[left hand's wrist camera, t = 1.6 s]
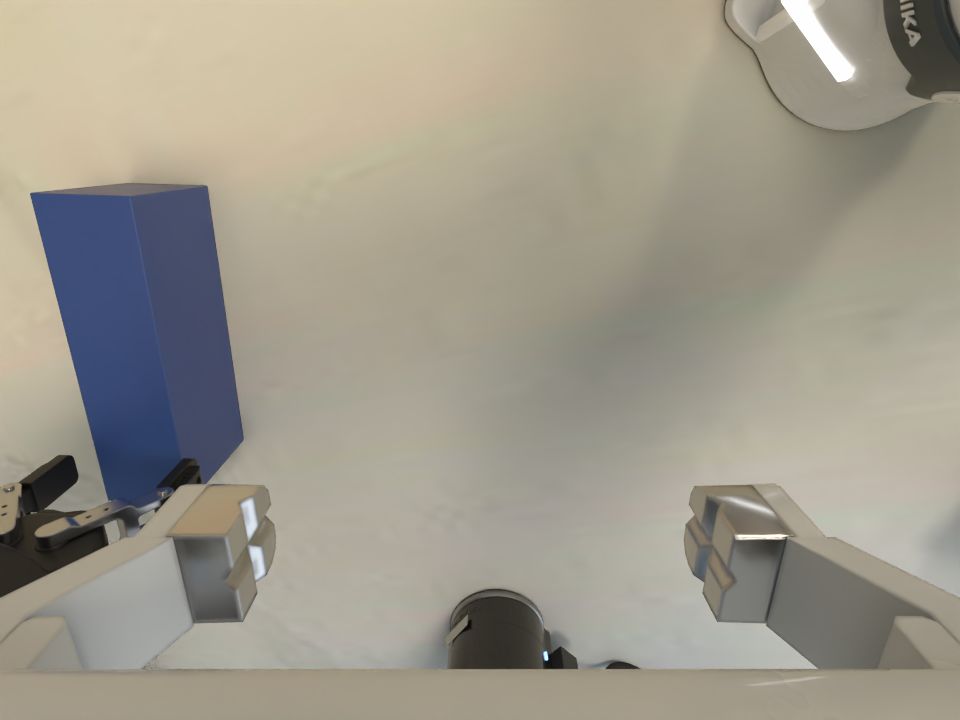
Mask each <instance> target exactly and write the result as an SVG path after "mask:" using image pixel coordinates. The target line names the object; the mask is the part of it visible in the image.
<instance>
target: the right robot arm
mask: <svg viewBox="0 0 960 720" xmlns="http://www.w3.org/2000/svg"><path fill="white" fill-rule="evenodd" d="M77 480H78V471H77V468H76V464H75V461H74V458H73V456H71V455H58V456H57V457H55V458H54V459H52V460H51V461H50V462H48V463H46V464H44V465H42V466H41V467H39V468H38V469H36V471H34V472H32V473H31V474H30V475H28V476H27V477H26V478H24V479H23V480H21V481H20V482H19V483H10V484H7V485H4V486H2V487H0V598H1V597H3V596H5V595H7V594H9V593H11V592H13V591H15V590H17V589H19V588H21V587H24V586H26V585H28V584H30V583H32V582H34V581H36V580H38V579H40V578H42V577H44V576H46V575H48V574H50V573H52V572H54V571H56V570H59V569H61V568H63V567H65V566H67V565H69V564H71V563H73V562H75V561H77V560H79V559H81V558H83V557H85V556H87V555H89V554H91V553H94V552H96V551H98V550H100V549H102V548H104V547H106V546H108V538H107V534H106V530H105V527H104V524H106V523H108V522H111V521H113V520H117V524H118V527H119V531H120V535H121V536H120V539H122V538H124V537H134V536H135V535H136V534H137V533H138V532H139V531H140V530H141V528H142V527H143V526H144V525H145V524H146V523H145V524H143V525H141V526H139V523H138V518H139V517H140V516H141V515H142V514H144V513H147V512H149V511H151V510H153V509H154V510H155V513H156V512H157V511H158V510H159V509H160V508H161V506H162V505H163V504H164V503H165V502H166V501H167V500H168V499H169V498H170V497H171V495H172V494H173V493H174V492H175V491H176V490H177V489H178V488H179V487H180V486H182V485H186V484H203V480H202V474H201V469H200V466H198V464H197V460H196V459H194V458H183V459H182V460H181V461H180V462H179V463H178V464H177V465H176V466H175V468H174V469H173V470H172V471H171V472H170V473H169V474H168V475H167V476H166V477H165V478H164V479H163V480H162V481H161V482H160V483H159V484H158V485H157V486H156V488H157V490H155V491H152V492H150V493H148V494H145V495H143V496H141V497H138V498H136V499H134V500H131V501H128V500H126V499H125V498H118V499H115V500H113V501H111V502H108V503H106V504H103V505H101V506H99V507H96V508H94V509H92V510H89V511H73V512H61V511H56V510H44V509H45V508H46V507H47V506H49V505H50V504H51V503H52V502H54V501H55V500H56V499H57V498H58V497H60V496H61V495H62V494H63V493H64V492H66V491H67V490H68V489H69V488H70V487H72V486H73V485H74V484H75V483H76V482H77ZM31 512H37V513H34V514H31ZM449 643H450V647H449V657H448V669H578V666H577V660H576V658H575V657H574V656H573V655H572V654H570V653H569V652H568V651H566V650H565V649H564V648H562V647H559V648H558V649H556V650H555V651H554V652H551V643H550V635H549V632H547V631H546V630H545V629H544V624H543V619H542V616H541V613H540V612H539V610H538V609H537V607H536V606H535V605H534V604H533V603H532V602H531V601H529V600H528V599H526V598H525V597H523V596H521V595H519V594H516V593H513V592H509V591H502V590H491V591H484V592H480V593H477V594H474V595H472V596H470V597H468V598H467V599H465V600H464V601H463V602H461V603H460V604H459V605H458V607H457V608H456V609H455V611H454V613H453V615H452V618H451V623H450V633H449V634H448V635H447V636H446V637H445V647H446V646H447V645H448V644H449ZM606 669H639V668H637V667H635V666H633V665H631V664H627V663H622V662H616V663H612V664H610V665H609V666H608V667H607V668H606Z"/></svg>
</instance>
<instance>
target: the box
mask: <svg viewBox="0 0 960 720" xmlns="http://www.w3.org/2000/svg"><path fill="white" fill-rule="evenodd" d="M30 195H31V199H32V203H33V207H34V211H35V215H36V219H37V223H38V227H39V231H40V235H41V238H42V242H43V246H44V250H45V254H46V258H47V262H48V266H49V270H50V274H51V278H52V281H53V285H54V289H55V293H56V297H57V301H58V305H59V309H60V313H61V317H62V321H63V325H64V328H65V332H66V336H67V340H68V344H69V348H70V352H71V356H72V360H73V364H74V368H75V371H76V375H77V379H78V383H79V387H80V391H81V395H82V399H83V403H84V407H85V411H86V415H87V418H88V422H89V426H90V430H91V434H92V438H93V442H94V446H95V450H96V454H97V458H98V461H99V465H100V469H101V473H102V477H103V481H104V485H105V489H106V493H107V497H108V500H109V501H113V500H115V499H118V498H125V499H126V500H128V501H131V500H134V499H136V498H138V497H141V496H143V495H145V494H148V493H150V492H152V491H155V490H157V488H156V486H157V485H158V484H159V483H160V482H161V481H162V480H163V479H164V478H165V477H166V476H167V475H168V474H169V473H170V472H171V471H172V470H173V469H174V468H175V466H176V465H177V464H178V463H179V462H180V461H181V460H182V459H183V458H194V459H196V460H197V464H198V466H200V469H201V474H202V480H203V484H206V483H207V482H208V481H209V480H210V479H211V478H212V476H213V475H214V474H215V473H216V472H217V471H218V469H219V468H220V467H221V466H222V465H223V463H224V462H225V461H226V460H227V459H228V458H229V456H230V455H231V454H232V453H233V452H234V451H235V449H236V448H237V447H238V446H239V445H240V443H241V442H242V441H243V433H242V426H241V419H240V412H239V405H238V398H237V391H236V384H235V377H234V370H233V363H232V356H231V349H230V342H229V335H228V328H227V321H226V314H225V307H224V300H223V293H222V286H221V279H220V272H219V265H218V258H217V251H216V244H215V237H214V230H213V223H212V216H211V209H210V202H209V195H208V188H207V186H201V185H169V184H138V183H125V184H115V185H105V186H95V187H85V188H75V189H65V190H55V191H44V192H34V193H30Z"/></svg>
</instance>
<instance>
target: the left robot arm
mask: <svg viewBox="0 0 960 720" xmlns="http://www.w3.org/2000/svg"><path fill="white" fill-rule="evenodd" d="M725 19H726V21H727V23H728V25H729V26H730V28H731V29H732V30H733V31H734V32H735V33H736V34H737V36H739V37H740V38H741V39H742V40H743V41H744V42H745V43H746V44H748V45H749V46H750V47H751V48H752V49H753V50H754V52H755V53H756V55H757V57H758V59H759V61H760V64H761V67H762V69H763V72H764V74H765V77H766V79H767V81H768V83H769V85H770V87H771V89H772V90H773V92H774V93H775V95H776V96H777V98H778V99H779V100H780V101H781V103H782V104H783V105H784V106H785V107H786V108H787V109H788V110H790V111H791V112H792V113H793V114H795V115H796V116H798V117H799V118H801V119H802V120H804V121H806V122H808V123H810V124H813V125H816V126H819V127H822V128H826V129H832V130H859V129H865V128H870V127H874V126H877V125H880V124H883V123H886V122H888V121H891V120H893V119H895V118H897V117H899V116H901V115H903V114H905V113H906V112H908V111H910V110H912V109H914V108H917V107H920V106H923V105H926V104H929V103H932V102H941V103H960V0H727V1H726V5H725ZM270 505H271V502H270V497H269V492H268V489H267V488H266V487H265V486H264V485H230V484H212V485H211V484H186V485H182V486H180V487H179V488H178V489H177V490H176V491H175V492H174V493H173V494H172V495H171V497H170V498H169V499H168V500H167V501H166V502H165V503H164V504H163V505H162V506H161V508H160V509H159V510H158V511H157V512H156V513H155V514H154V515H153V516H152V517H151V519H150V520H149V521H148V522H147V523H146V524H145V525H144V526H143V527H142V528H141V530H140V531H139V532H138V533H137V534H136V535H135V536H134V537H124V538H122V539H120V540H118V541H116V542H114V543H112V544H110V545H108V546H106V547H104V548H102V549H100V550H98V551H96V552H94V553H91V554H89V555H87V556H85V557H83V558H81V559H79V560H77V561H75V562H73V563H71V564H69V565H67V566H65V567H63V568H61V569H59V570H56V571H54V572H52V573H50V574H48V575H46V576H44V577H42V578H40V579H38V580H36V581H34V582H32V583H30V584H28V585H26V586H24V587H21V588H19V589H17V590H15V591H13V592H11V593H9V594H7V595H5V596H3V597H1V598H0V720H960V598H959V597H957V596H955V595H953V594H951V593H948V592H946V591H944V590H942V589H940V588H938V587H936V586H934V585H932V584H930V583H928V582H926V581H924V580H922V579H920V578H918V577H916V576H914V575H912V574H909V573H907V572H905V571H903V570H901V569H899V568H897V567H895V566H893V565H891V564H889V563H887V562H885V561H883V560H881V559H879V558H877V557H875V556H873V555H870V554H868V553H866V552H864V551H862V550H860V549H858V548H856V547H854V546H852V545H850V544H848V543H846V542H844V541H842V540H840V539H838V538H836V537H826V536H825V535H824V534H823V533H822V532H821V531H820V530H819V529H818V527H817V526H816V525H815V524H814V523H813V522H812V521H811V520H810V519H809V518H808V516H807V515H806V514H805V513H804V512H803V511H802V510H801V509H800V508H799V506H798V505H797V504H796V503H795V502H794V501H793V500H792V499H791V498H790V497H789V495H788V494H787V493H786V492H785V491H784V490H783V489H782V488H781V487H780V486H778V485H776V484H749V485H719V486H694V488H693V490H692V492H691V496H690V502H689V505H690V507H691V509H692V511H693V512H694V514H695V515H694V516H693V517H692V518H691V519H690V520H689V522H688V523H687V524H686V527H685V535H684V545H685V554H686V558H687V561H688V565H689V567H690V569H691V571H692V573H693V575H694V576H696V577H697V578H699V579H700V580H701V581H703V582H704V587H703V595H704V597H705V599H706V601H707V603H708V605H709V607H710V609H711V611H712V612H713V614H714V616H715V618H716V620H717V622H739V623H767V624H766V626H767V627H769V628H770V629H771V630H772V631H773V632H775V633H776V634H777V635H778V636H779V637H781V638H782V639H783V640H784V641H786V642H787V643H788V644H789V645H790V646H792V647H793V648H794V649H795V650H796V651H798V652H799V653H800V654H801V655H802V656H804V657H805V658H806V659H807V660H808V661H810V662H811V663H812V664H813V665H815V666H816V667H817V668H818V669H142V668H143V667H144V666H146V665H147V664H148V663H149V662H150V661H152V660H153V659H154V658H155V657H157V656H158V655H159V654H160V653H161V652H163V651H164V650H165V649H166V648H167V647H169V646H170V645H171V644H172V643H173V642H175V641H176V640H177V639H178V638H180V637H181V636H182V635H183V634H184V633H186V632H187V631H188V630H189V629H190V628H192V627H193V626H194V624H193V623H220V622H243V620H244V618H245V616H246V614H247V612H248V611H249V609H250V607H251V605H252V603H253V601H254V599H255V597H256V595H257V588H256V582H257V581H259V580H260V579H261V578H263V577H264V576H266V575H267V573H268V571H269V569H270V567H271V565H272V562H273V557H274V553H275V548H276V534H275V527H274V524H273V523H272V522H271V521H270V519H269V518H268V517H267V516H266V515H265V514H266V512H267V511H268V509H269V507H270Z"/></svg>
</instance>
